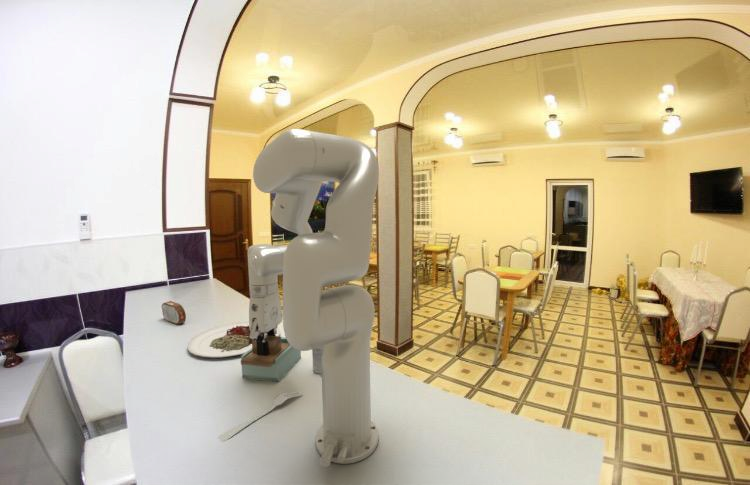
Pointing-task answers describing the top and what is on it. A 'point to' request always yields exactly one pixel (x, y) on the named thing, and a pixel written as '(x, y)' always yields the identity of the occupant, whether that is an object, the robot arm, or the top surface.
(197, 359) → the top surface
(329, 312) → the robot arm
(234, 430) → the fork
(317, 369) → the medicine box
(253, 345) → the cover plate
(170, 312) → the tin
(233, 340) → the plated food
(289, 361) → the slide box
